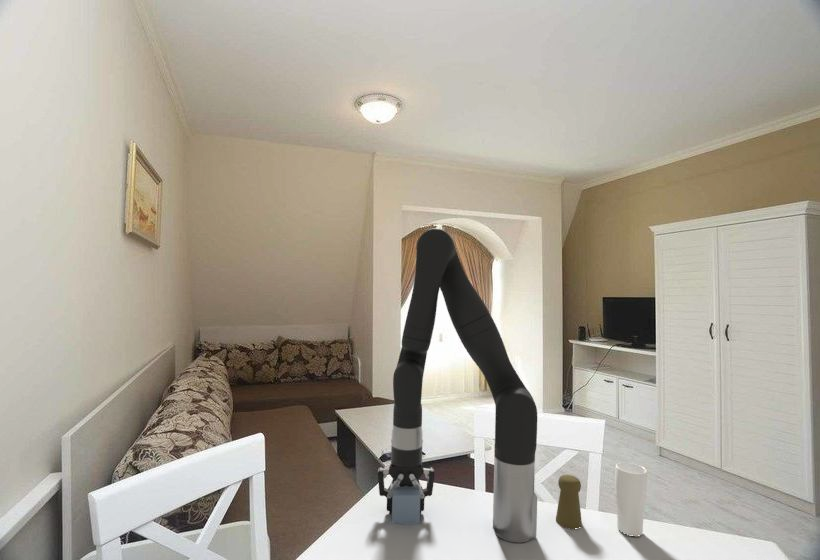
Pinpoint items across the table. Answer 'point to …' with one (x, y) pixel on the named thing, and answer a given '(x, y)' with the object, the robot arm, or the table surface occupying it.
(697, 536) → the table surface
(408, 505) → the blue-grey block
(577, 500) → the cork
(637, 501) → the drinking glass
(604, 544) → the table surface
